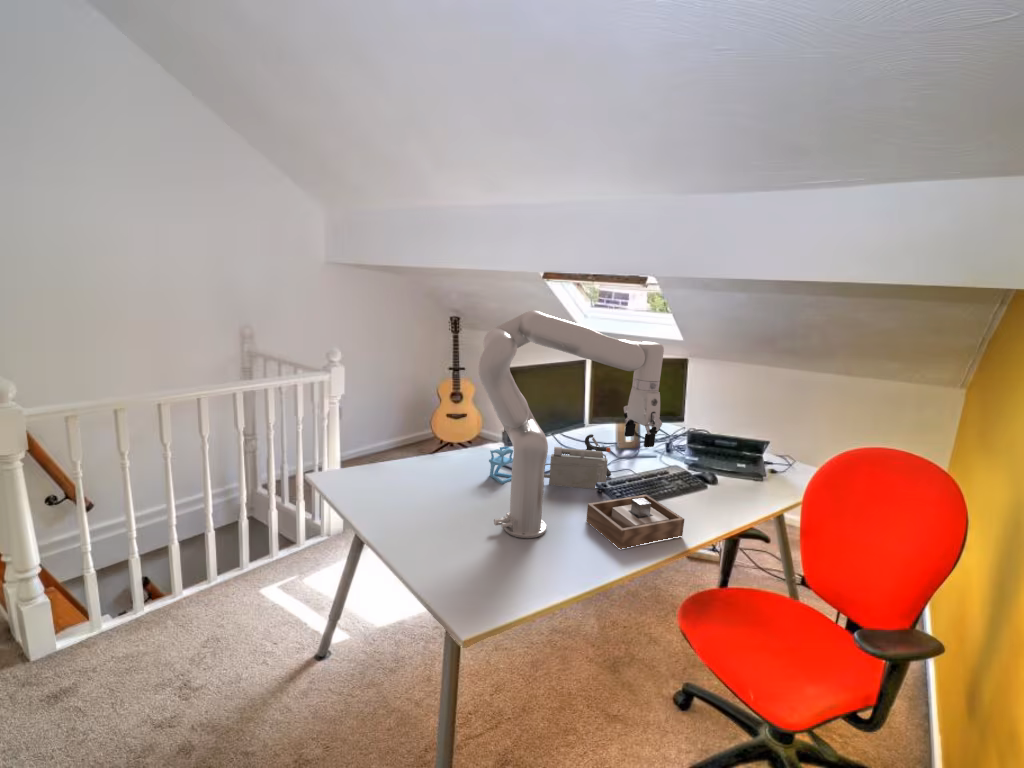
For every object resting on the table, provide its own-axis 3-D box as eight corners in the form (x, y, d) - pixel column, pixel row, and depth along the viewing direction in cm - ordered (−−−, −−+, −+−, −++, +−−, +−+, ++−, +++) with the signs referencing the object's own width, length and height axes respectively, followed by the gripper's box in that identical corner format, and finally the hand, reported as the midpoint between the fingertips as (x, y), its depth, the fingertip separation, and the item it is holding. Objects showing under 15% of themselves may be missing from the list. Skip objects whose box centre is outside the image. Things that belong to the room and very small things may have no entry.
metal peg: (637, 529, 164) (640, 505, 162) (629, 523, 167) (632, 499, 165) (648, 527, 165) (651, 503, 163) (640, 521, 169) (643, 497, 167)
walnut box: (619, 550, 153) (621, 530, 152) (586, 521, 169) (587, 503, 168) (682, 537, 162) (684, 519, 161) (644, 511, 178) (646, 494, 177)
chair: (498, 472, 206) (500, 441, 203) (516, 478, 200) (517, 447, 198) (485, 477, 200) (486, 446, 197) (502, 484, 195) (503, 452, 192)
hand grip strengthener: (609, 478, 204) (613, 440, 201) (578, 470, 211) (581, 433, 207) (611, 476, 206) (615, 438, 203) (581, 469, 212) (584, 432, 209)
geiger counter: (607, 448, 195) (537, 443, 197) (609, 454, 189) (536, 448, 191) (604, 485, 198) (535, 479, 200) (605, 492, 192) (534, 486, 194)
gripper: (675, 391, 152) (667, 450, 156) (638, 378, 168) (632, 431, 171) (653, 392, 149) (645, 452, 153) (618, 378, 165) (611, 433, 168)
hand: (638, 441), depth 162 cm, fingers open, 9 cm apart
